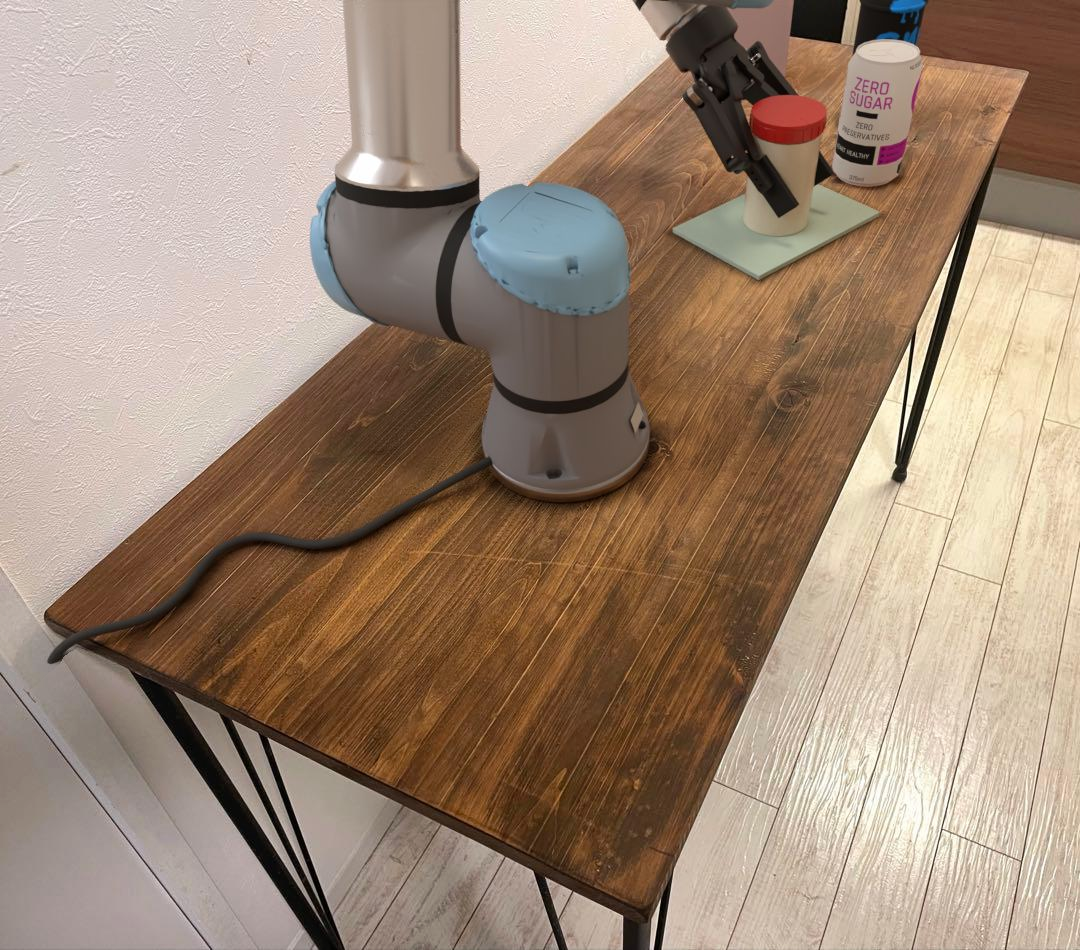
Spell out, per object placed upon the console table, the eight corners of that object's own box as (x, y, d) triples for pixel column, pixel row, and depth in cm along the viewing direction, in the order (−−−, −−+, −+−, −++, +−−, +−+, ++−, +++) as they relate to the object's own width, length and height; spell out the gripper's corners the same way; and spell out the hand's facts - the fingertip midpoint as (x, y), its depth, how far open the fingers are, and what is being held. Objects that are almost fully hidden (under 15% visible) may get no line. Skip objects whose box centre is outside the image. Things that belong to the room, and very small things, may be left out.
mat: (758, 280, 100) (759, 276, 100) (672, 232, 109) (672, 227, 108) (879, 216, 108) (880, 211, 108) (790, 175, 116) (790, 171, 116)
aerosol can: (827, 118, 127) (851, -41, 113) (875, 104, 129) (904, -54, 115) (866, 140, 122) (896, -24, 108) (915, 125, 124) (951, -38, 110)
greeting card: (786, 91, 134) (799, -20, 124) (757, 109, 131) (767, -4, 120) (722, 74, 140) (730, -34, 130) (692, 90, 137) (697, -19, 126)
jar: (776, 243, 104) (789, 138, 96) (729, 218, 109) (737, 115, 100) (822, 220, 107) (839, 115, 98) (774, 196, 112) (786, 94, 103)
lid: (788, 151, 96) (790, 134, 95) (733, 127, 101) (734, 110, 100) (840, 127, 99) (843, 109, 98) (785, 105, 104) (787, 88, 103)
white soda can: (892, 157, 118) (918, 35, 107) (904, 188, 112) (932, 63, 102) (827, 158, 119) (846, 38, 108) (835, 190, 113) (856, 66, 102)
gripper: (717, 13, 108) (823, 174, 112) (616, 75, 98) (737, 250, 101) (761, -30, 102) (872, 142, 106) (659, 31, 91) (786, 220, 95)
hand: (806, 195), depth 104 cm, fingers closed on jar, 8 cm apart
